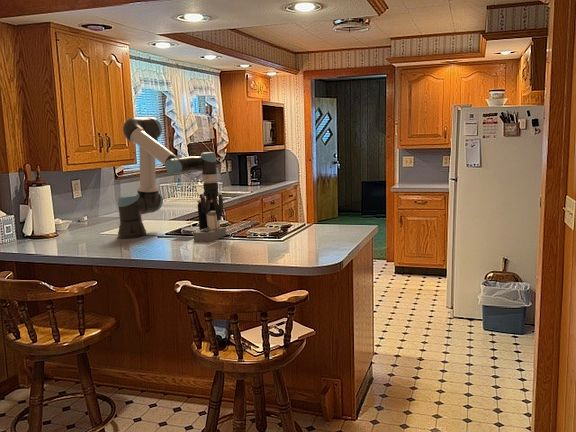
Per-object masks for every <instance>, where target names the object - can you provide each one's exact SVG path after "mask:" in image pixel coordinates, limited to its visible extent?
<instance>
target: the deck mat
mask: <svg viewBox="0 0 576 432" xmlns="http://www.w3.org/2000/svg"><path fill="white" fill-rule="evenodd" d="M192 240H194V237H193V236H185V235H183V236H179V237H176V238H173V239H171V241H175V242H189V241H192Z"/></svg>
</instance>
